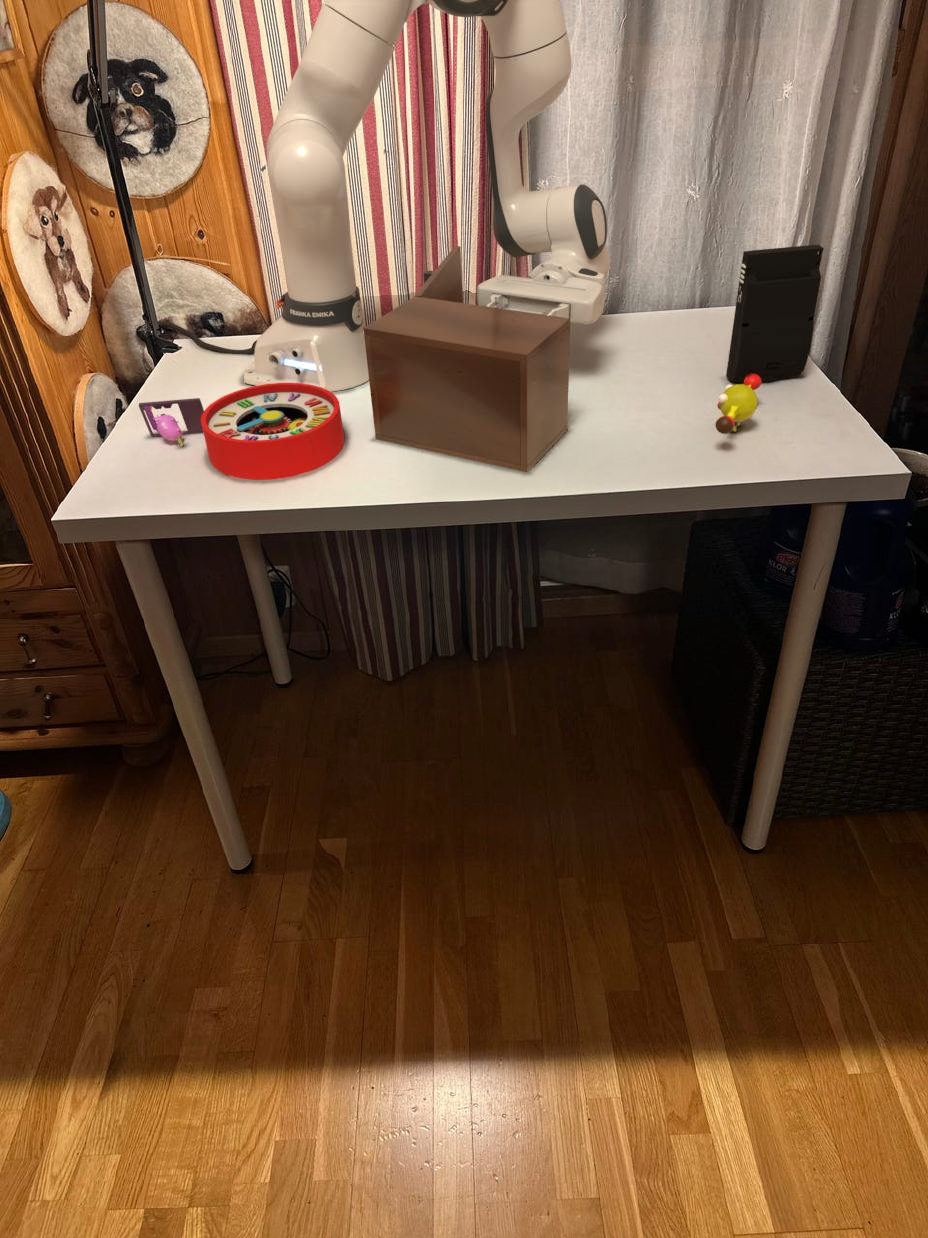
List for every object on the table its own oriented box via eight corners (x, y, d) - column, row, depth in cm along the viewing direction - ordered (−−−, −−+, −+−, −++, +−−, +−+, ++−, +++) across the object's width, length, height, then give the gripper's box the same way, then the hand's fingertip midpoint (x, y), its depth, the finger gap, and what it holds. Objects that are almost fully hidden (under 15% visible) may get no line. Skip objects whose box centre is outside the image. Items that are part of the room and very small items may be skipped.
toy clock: (367, 408, 133) (248, 457, 122) (371, 445, 136) (256, 495, 126) (289, 371, 145) (175, 412, 135) (295, 406, 148) (184, 448, 138)
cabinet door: (390, 397, 149) (380, 294, 139) (431, 340, 168) (424, 245, 158) (428, 400, 148) (420, 295, 137) (464, 341, 167) (460, 245, 156)
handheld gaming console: (794, 369, 151) (817, 243, 139) (806, 381, 147) (831, 251, 135) (723, 377, 150) (740, 250, 138) (733, 388, 146) (752, 259, 134)
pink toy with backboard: (199, 394, 137) (138, 399, 137) (198, 419, 134) (135, 424, 134) (210, 426, 143) (151, 431, 142) (209, 451, 140) (149, 456, 140)
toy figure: (730, 401, 143) (736, 359, 139) (767, 407, 141) (774, 364, 136) (697, 452, 130) (703, 407, 126) (736, 459, 128) (743, 414, 124)
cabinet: (423, 402, 147) (415, 296, 137) (567, 431, 137) (570, 318, 127) (375, 439, 138) (363, 328, 127) (527, 473, 128) (526, 354, 117)
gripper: (497, 260, 153) (457, 286, 143) (614, 275, 145) (579, 303, 135) (498, 298, 157) (459, 326, 147) (611, 315, 148) (578, 345, 139)
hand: (518, 315), depth 141 cm, fingers open, 8 cm apart
